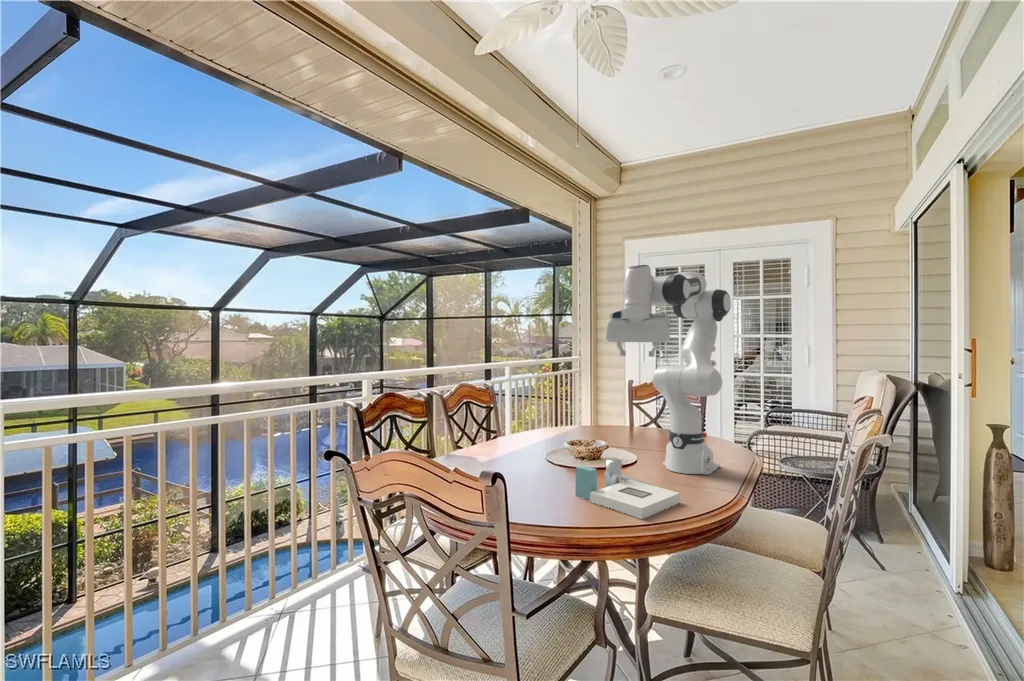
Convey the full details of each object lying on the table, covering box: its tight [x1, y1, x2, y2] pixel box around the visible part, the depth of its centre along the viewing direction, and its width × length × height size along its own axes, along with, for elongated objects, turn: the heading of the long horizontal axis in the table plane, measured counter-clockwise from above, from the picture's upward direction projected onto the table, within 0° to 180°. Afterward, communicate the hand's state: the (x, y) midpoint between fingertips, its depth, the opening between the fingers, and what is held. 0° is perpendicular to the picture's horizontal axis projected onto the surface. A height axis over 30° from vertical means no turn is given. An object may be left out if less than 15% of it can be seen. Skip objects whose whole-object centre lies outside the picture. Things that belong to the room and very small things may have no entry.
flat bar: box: [575, 464, 598, 500], centre depth 149 cm, size 3×6×9 cm, turn 41°
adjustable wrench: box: [603, 471, 662, 488], centre depth 164 cm, size 25×6×2 cm, turn 27°
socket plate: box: [589, 480, 681, 520], centre depth 144 cm, size 20×18×3 cm
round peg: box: [605, 458, 623, 487], centre depth 158 cm, size 5×5×9 cm
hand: (637, 356), depth 157 cm, fingers open, 8 cm apart
